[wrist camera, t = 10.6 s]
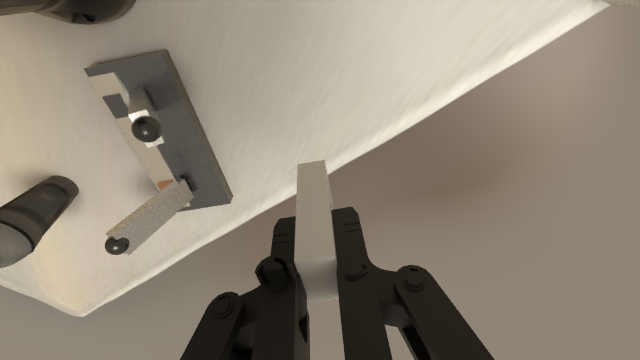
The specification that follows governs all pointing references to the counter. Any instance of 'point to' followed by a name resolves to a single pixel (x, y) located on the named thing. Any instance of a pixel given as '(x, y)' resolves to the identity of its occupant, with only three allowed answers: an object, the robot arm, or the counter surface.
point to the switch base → (163, 125)
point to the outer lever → (148, 218)
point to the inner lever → (144, 118)
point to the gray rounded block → (623, 2)
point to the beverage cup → (32, 217)
